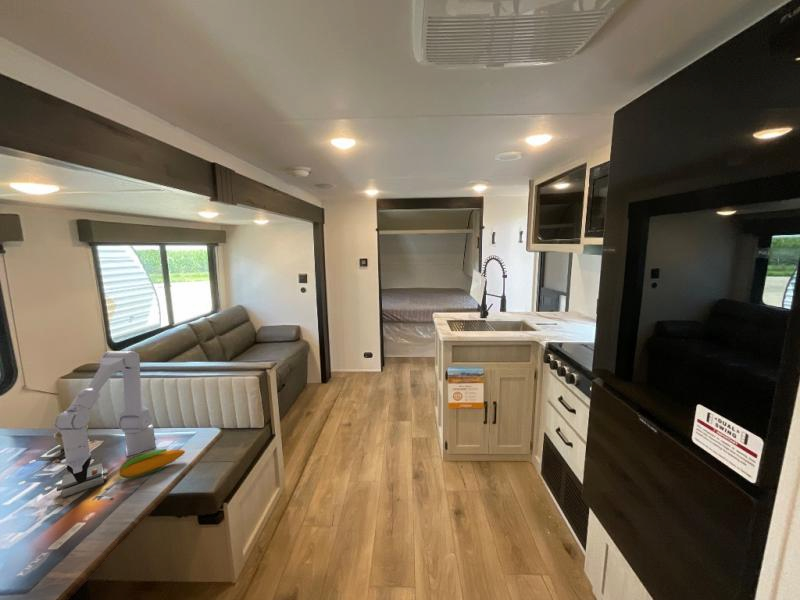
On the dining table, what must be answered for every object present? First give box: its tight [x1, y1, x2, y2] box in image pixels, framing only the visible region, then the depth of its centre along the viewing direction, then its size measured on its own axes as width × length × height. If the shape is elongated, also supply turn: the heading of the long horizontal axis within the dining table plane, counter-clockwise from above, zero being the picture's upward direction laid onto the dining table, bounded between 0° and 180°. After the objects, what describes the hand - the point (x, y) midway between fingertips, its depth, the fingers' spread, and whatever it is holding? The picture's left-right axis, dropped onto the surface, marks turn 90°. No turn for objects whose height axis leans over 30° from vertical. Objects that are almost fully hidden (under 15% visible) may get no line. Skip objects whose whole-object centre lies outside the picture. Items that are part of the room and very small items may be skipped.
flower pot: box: [53, 424, 89, 449], centre depth 134 cm, size 10×10×7 cm
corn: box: [118, 448, 186, 479], centre depth 121 cm, size 7×8×20 cm
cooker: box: [56, 467, 109, 500], centre depth 113 cm, size 13×8×3 cm, turn 133°
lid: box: [60, 463, 103, 489], centre depth 113 cm, size 10×8×2 cm
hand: (82, 480), depth 109 cm, fingers closed
